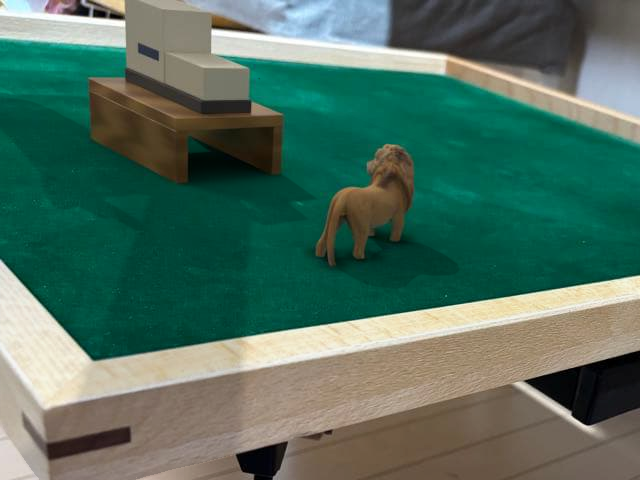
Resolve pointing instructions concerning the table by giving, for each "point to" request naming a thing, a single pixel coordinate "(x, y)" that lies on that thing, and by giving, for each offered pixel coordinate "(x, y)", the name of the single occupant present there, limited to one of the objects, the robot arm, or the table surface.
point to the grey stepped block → (181, 58)
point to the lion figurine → (372, 202)
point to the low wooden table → (178, 129)
